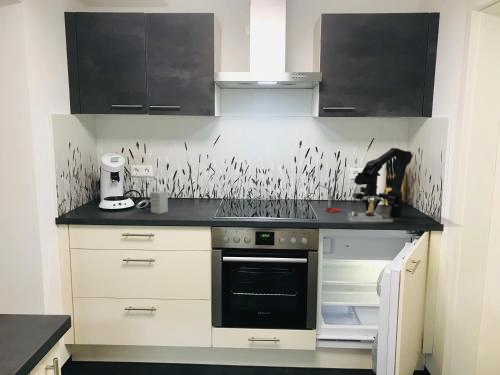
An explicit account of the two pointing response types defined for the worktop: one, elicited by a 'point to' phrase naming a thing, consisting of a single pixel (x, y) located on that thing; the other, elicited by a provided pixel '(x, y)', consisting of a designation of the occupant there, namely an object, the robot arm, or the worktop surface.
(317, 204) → the worktop surface
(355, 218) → the plate with square hole
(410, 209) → the worktop surface
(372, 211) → the brass pin
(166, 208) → the supplement box
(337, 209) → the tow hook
